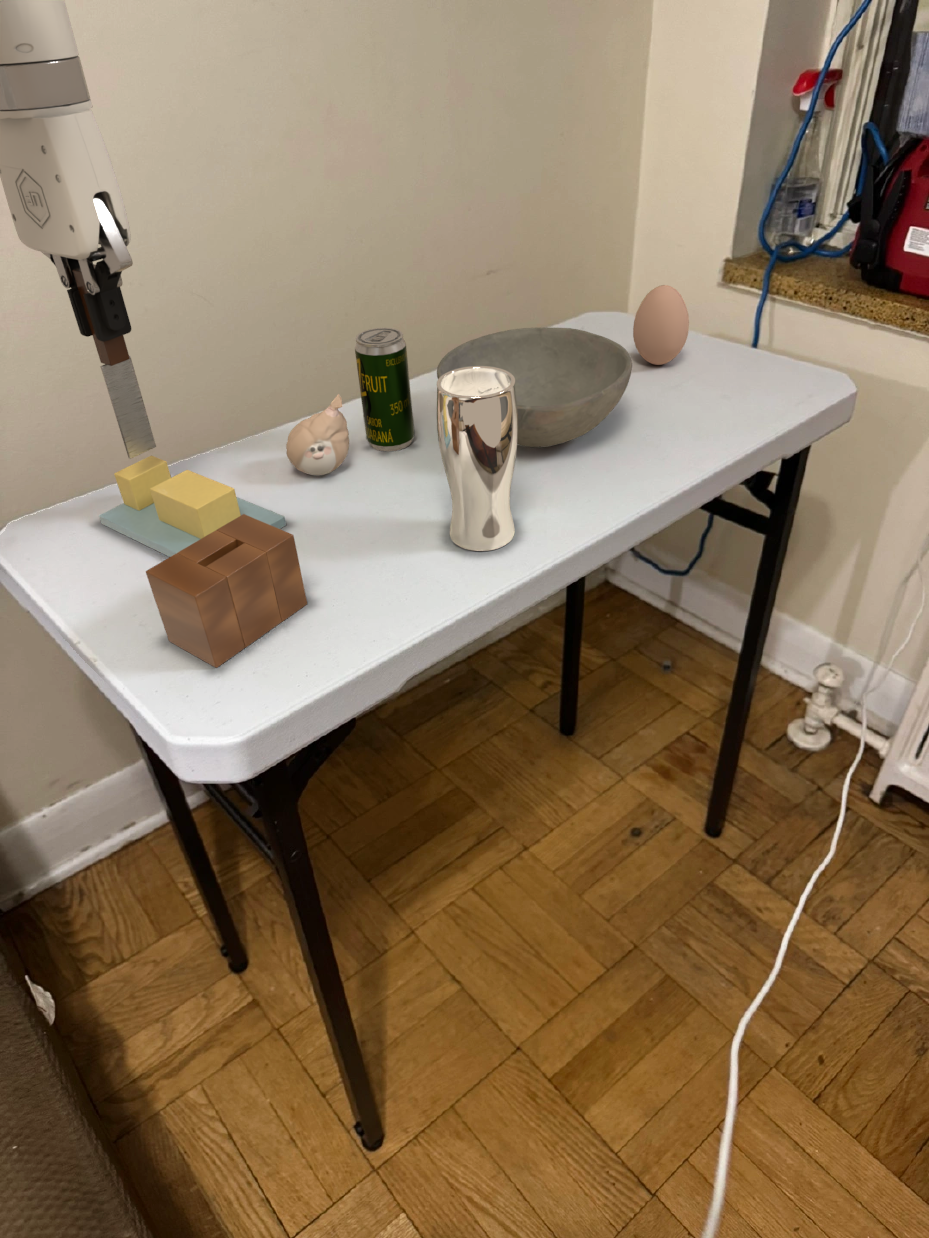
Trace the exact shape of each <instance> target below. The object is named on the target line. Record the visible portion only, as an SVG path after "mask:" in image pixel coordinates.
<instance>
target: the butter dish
mask: <svg viewBox="0 0 929 1238" xmlns="http://www.w3.org/2000/svg"><path fill="white" fill-rule="evenodd" d="M236 498H237V502H238V506H239V510H240V514H241V515H243V514H245V515H247V516H250V517H252V518H254V519H257V520H259V521H262V522H264V523H266V524H269V525H271V526H274V527H276V528H278V529H281V530H282V529H283V528H284V527H286V526H287V521H286V517H285V516H284V515H282V514H279V513H277V512H274V511H272V510H271V509H270V510H269V509H267V508H265V507H262V506H260V505H257V504H255V503H252V502H251V501H248V500H245V499H244V498H240V497H238V496H236ZM98 517H99V520H100V523H101V525H102V526H105V527H107V528H109V529H111V530H113V531H116V532H117V533H119V534H122V535H123V536H125V537H127V538H129V539H132V540H134V541H135V542H138V543H140V544H142V545H144V546H146V547H148V548H150V549H152V550H155V551H156V552H158V553H161V554H163V555H164V556H167V557H168V558H169V557H171V556H173V555H174V554H177V553H178V552H179V551H181V550H183V549H185V548H186V547H188V546H190V545H191V544H193V543H195V542H197V541H198V540H200V538H197V537H195V536H193V535H191V534H189V533H187V532H184V531H182V530H180V529H178V528H176V527H173V526H171V525H169V524H167V523H165V522H162V521H160V520H159V517H158V514H157V511H156V508H155V504H154V503H153V504H151V505H149V506H147V507H145V508H144V509H142V510H140V511H138V510H136V509H134V508H132V507H129V506H127V505H125V504H124V502H122V503H120V504H119V505H116V506H114V507H113V508H111V509H109V510H107V511H105V512H103V513H100V514H99V515H98Z"/></svg>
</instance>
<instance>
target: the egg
mask: <svg viewBox="0 0 929 1238" xmlns="http://www.w3.org/2000/svg"><path fill="white" fill-rule="evenodd" d="M686 304H687V303H686V302H685V300H684V297H683V296H682V295H681V293H680V292H679V291H678V289H676V288H675V287H673V286H671V285H668V284H662V285H659V286H656V287H654V288H653V289H651V290H649V292H647V293H646V295H645V297H644V298H643V299H642V301H641V302H640V305H639V307H638V309H637V311H636V313H635V315H634V320H633V327H632V338H633V342H634V346H635V348H636V350H637V352H638V354H639V355H640V356H641V358H643V359H644V360H645V361H646V362H648V363H650V364H651V365H655V366H661V365H666V364H668V363H670V362H671V361H673V360H674V359H675V358H676V357H677V356H678V355H679V354H680V353H681V351H682V350H683V348H684V347H685V345H686V343H687V341H688V336H689V332H690V331H689V328H690V318H689V317H690V316H689V311H688V309H687V305H686Z"/></svg>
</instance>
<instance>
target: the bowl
mask: <svg viewBox="0 0 929 1238" xmlns="http://www.w3.org/2000/svg"><path fill="white" fill-rule="evenodd" d="M470 366H489V367H496V368H500V369H503V370H506V371H508V372H510V373H511V374H512V375H513V376H514V378H515V389H516V398H517V409H518V445H517V446H520V447H526V448H547V447H548V448H549V447H553V446H557V445H560V444H561V445H562V444H563V443H566V442H570V441H572V440H575V439H577V438H579V437H582V436H585V434H587V433H588V432H590V431H591V430H593V429H595V428H596V427H597V426H599V424H601V422H603V421H604V420H605V419H606V418H607V416H608V415H609V414H610V413H611V412H612V411H613V410H614V409H615V407H616V406H617V405H618V403H619V402H620V401H621V399H622V398H623V395H624V394H625V392H626V390H627V387H628V385H629V383H630V379H631V375H632V371H633V360H632V357H631V355H630V353H629V352H628V350H627V349H626V348H625V347H624V346H623V345H621V344H619V342H617V341H614V340H613V339H610V338H607V337H605V336H602V335H600V334H596V333H592V332H589V331H586V330H582V329H577V328H571V327H523V328H522V327H521V328H514V329H507V330H503V331H498V332H494V333H489V334H486V335H482V336H479V337H476V338H473V339H471V340H468V341H466V342H464V343H462V344H460V345H457V346H456V347H454V348H452V349H451V350H450V351H448V352H447V353H446V354H445V355H444V356H443V357H442V358H441V360H440V361H439V363H438V365H437V367H436V377H437V380H438V379H439V378H440V377H441V376H442V375H443V374H445V373H447V372H449V371H452V370H455V369H458V368H463V367H470Z"/></svg>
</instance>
